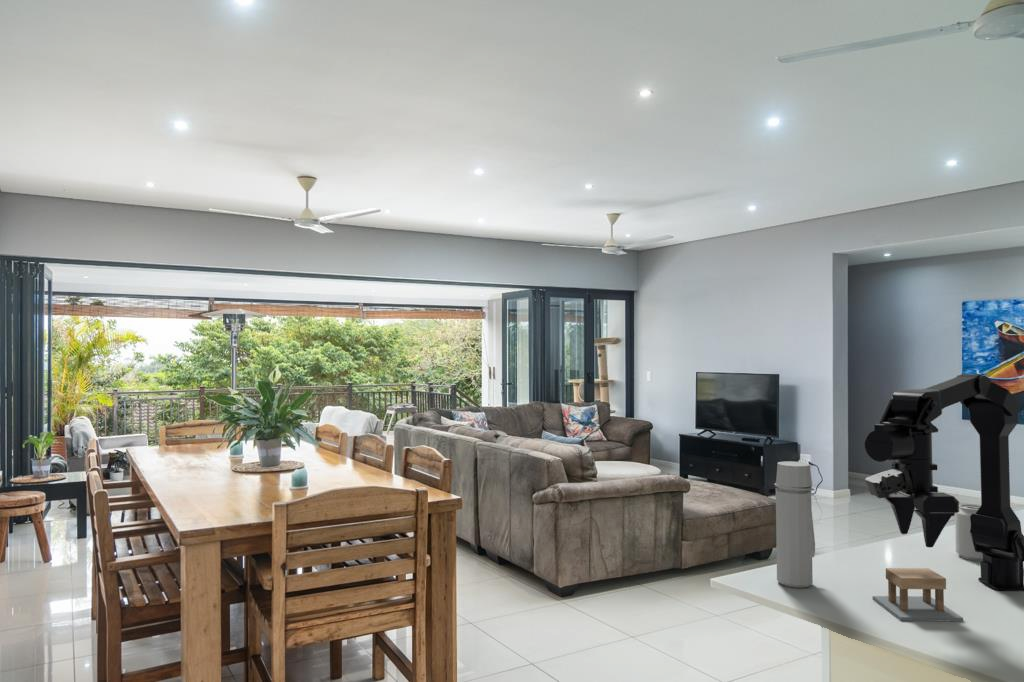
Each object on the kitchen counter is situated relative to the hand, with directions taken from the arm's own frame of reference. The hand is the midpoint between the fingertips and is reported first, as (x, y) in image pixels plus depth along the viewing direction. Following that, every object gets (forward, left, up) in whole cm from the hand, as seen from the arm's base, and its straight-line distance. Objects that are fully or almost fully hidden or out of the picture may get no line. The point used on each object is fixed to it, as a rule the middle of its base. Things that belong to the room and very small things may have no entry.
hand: (916, 540), depth 134 cm
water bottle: (+17, -14, -13) cm, 26 cm away
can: (-30, -33, -13) cm, 47 cm away
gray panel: (+1, +1, -13) cm, 13 cm away
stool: (+1, +1, -12) cm, 12 cm away
